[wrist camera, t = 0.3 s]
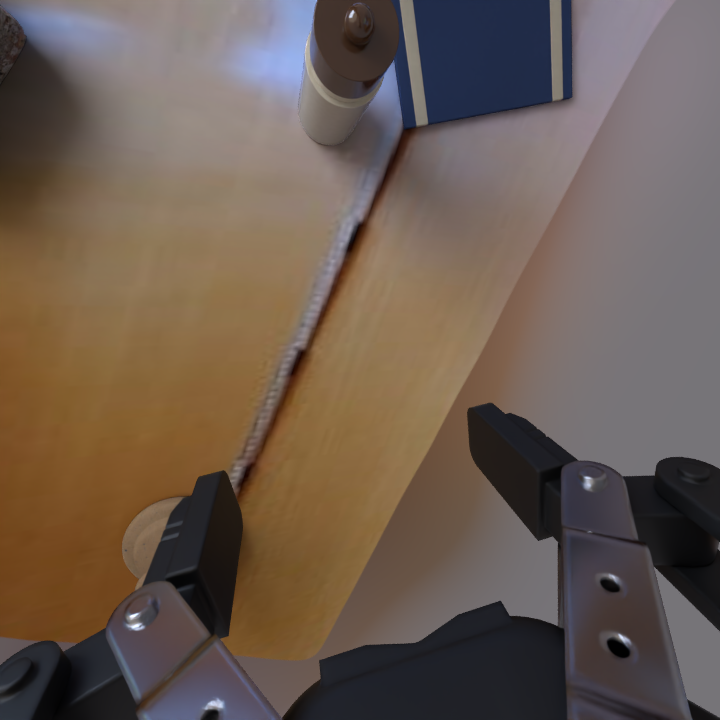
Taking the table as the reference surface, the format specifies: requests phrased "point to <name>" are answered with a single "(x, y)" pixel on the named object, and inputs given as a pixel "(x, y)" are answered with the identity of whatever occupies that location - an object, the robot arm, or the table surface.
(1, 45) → the geological specimen
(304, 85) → the pepper mill
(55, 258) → the table surface
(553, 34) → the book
